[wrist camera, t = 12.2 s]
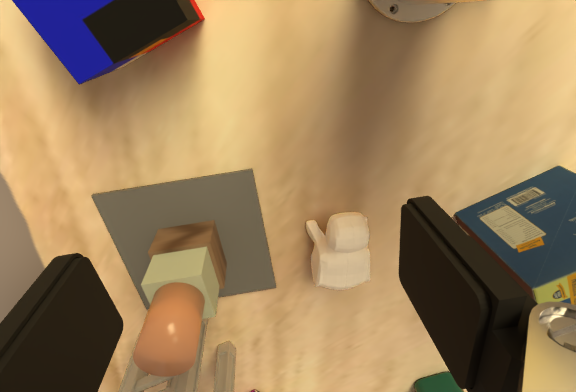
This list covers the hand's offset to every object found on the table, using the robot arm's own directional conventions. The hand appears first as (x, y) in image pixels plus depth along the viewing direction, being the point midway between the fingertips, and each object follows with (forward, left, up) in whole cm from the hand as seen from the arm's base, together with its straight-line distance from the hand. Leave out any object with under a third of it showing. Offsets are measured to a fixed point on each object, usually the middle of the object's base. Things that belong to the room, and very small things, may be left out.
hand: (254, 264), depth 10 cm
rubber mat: (+12, +20, -30) cm, 38 cm away
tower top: (+12, +20, -25) cm, 34 cm away
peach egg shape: (+12, +20, -20) cm, 31 cm away
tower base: (+12, +20, -30) cm, 38 cm away
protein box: (-34, +24, -31) cm, 52 cm away
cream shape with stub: (-8, +22, -31) cm, 39 cm away
